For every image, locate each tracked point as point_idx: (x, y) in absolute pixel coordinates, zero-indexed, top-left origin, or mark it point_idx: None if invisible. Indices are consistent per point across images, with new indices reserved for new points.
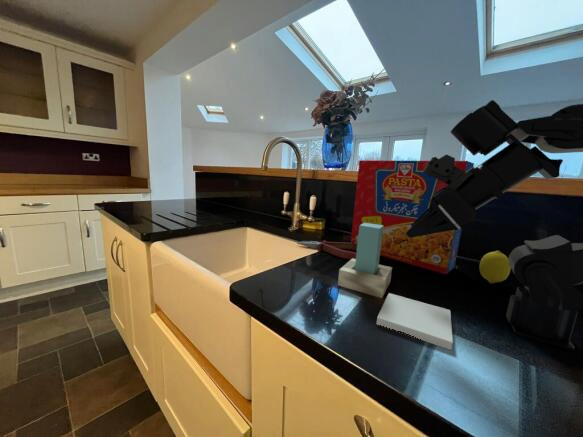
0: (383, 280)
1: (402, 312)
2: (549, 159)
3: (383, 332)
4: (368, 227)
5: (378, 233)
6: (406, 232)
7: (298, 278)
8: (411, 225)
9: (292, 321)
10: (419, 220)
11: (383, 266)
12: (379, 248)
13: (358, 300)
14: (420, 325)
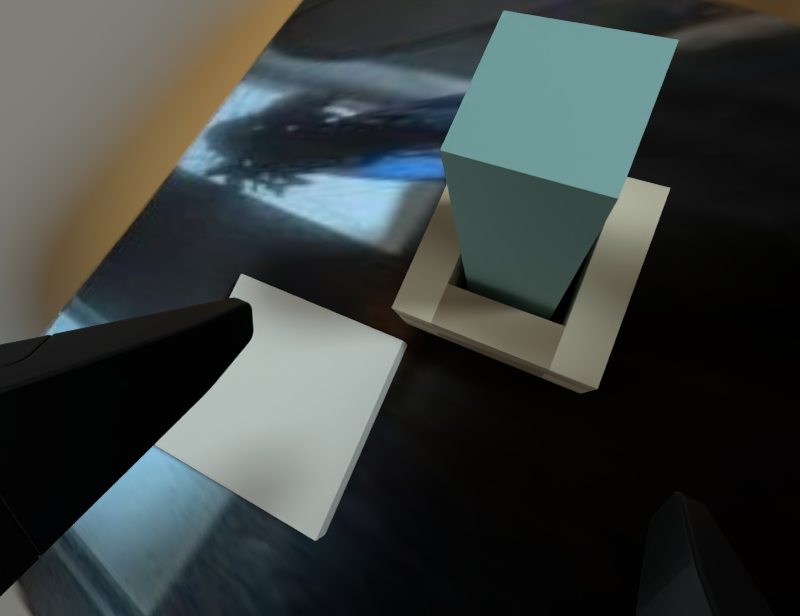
0: (398, 305)
1: (275, 353)
2: None
3: (223, 292)
4: (477, 77)
5: (447, 170)
6: (229, 298)
7: None
8: (677, 495)
9: (242, 93)
10: (50, 336)
11: (592, 341)
12: (532, 256)
13: (373, 242)
14: (215, 385)
